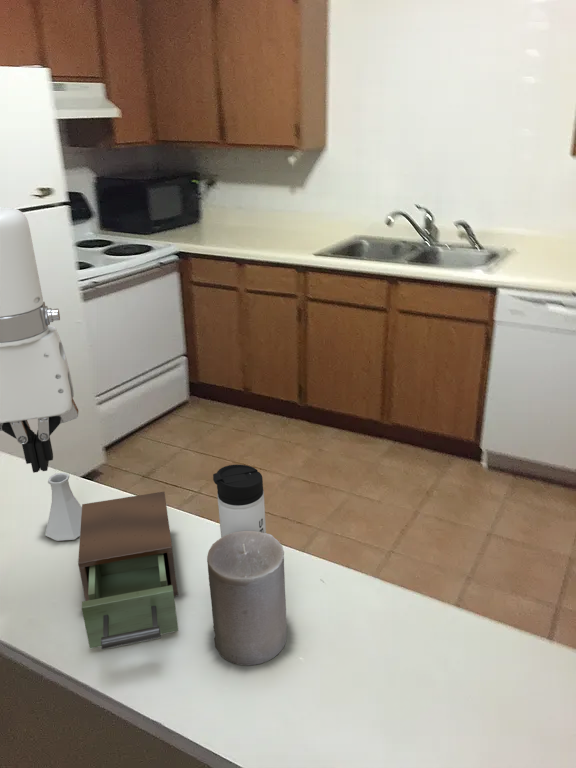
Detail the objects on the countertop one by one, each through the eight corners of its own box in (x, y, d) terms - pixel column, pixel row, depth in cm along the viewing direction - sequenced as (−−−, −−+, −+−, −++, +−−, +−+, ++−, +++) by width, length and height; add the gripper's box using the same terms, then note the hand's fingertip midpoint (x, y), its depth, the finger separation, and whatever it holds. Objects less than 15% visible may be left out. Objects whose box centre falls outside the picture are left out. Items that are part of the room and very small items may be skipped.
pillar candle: (199, 648, 87) (189, 555, 81) (241, 602, 94) (234, 513, 88) (262, 677, 82) (256, 581, 76) (301, 626, 90) (298, 534, 84)
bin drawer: (182, 660, 84) (176, 619, 81) (88, 680, 82) (79, 638, 79) (170, 566, 101) (165, 529, 98) (92, 580, 98) (85, 543, 95)
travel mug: (218, 583, 98) (207, 465, 90) (261, 571, 100) (254, 455, 92) (230, 611, 93) (219, 489, 85) (275, 598, 95) (269, 478, 87)
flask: (37, 539, 109) (25, 487, 105) (61, 514, 116) (50, 464, 112) (77, 544, 108) (66, 492, 104) (98, 518, 114) (89, 468, 110)
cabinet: (178, 595, 96) (172, 547, 93) (87, 612, 94) (78, 563, 90) (170, 535, 109) (164, 491, 106) (90, 549, 107) (82, 504, 103)
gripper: (82, 306, 79) (104, 443, 86) (-54, 320, 76) (-19, 460, 83) (79, 326, 72) (104, 472, 80) (-70, 342, 69) (-30, 492, 77)
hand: (41, 465), depth 81 cm, fingers closed
